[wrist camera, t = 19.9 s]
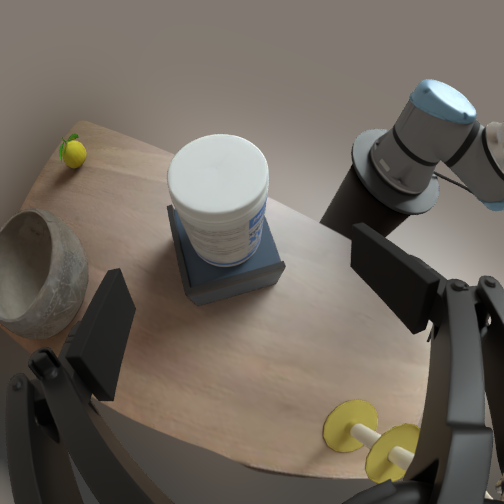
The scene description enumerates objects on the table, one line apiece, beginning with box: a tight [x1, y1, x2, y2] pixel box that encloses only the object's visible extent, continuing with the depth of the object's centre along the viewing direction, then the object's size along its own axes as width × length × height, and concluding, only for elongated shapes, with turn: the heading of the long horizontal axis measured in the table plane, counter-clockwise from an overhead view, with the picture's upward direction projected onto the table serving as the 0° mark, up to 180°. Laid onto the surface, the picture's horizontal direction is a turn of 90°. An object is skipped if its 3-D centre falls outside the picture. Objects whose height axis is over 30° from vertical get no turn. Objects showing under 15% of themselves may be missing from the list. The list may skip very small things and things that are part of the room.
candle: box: [323, 399, 493, 499], centre depth 20 cm, size 10×10×32 cm
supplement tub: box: [167, 134, 269, 267], centre depth 30 cm, size 10×10×15 cm
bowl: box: [0, 208, 88, 340], centre depth 34 cm, size 21×21×15 cm
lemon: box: [59, 134, 86, 168], centre depth 46 cm, size 7×6×10 cm
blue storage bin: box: [167, 205, 286, 306], centre depth 40 cm, size 13×13×10 cm
